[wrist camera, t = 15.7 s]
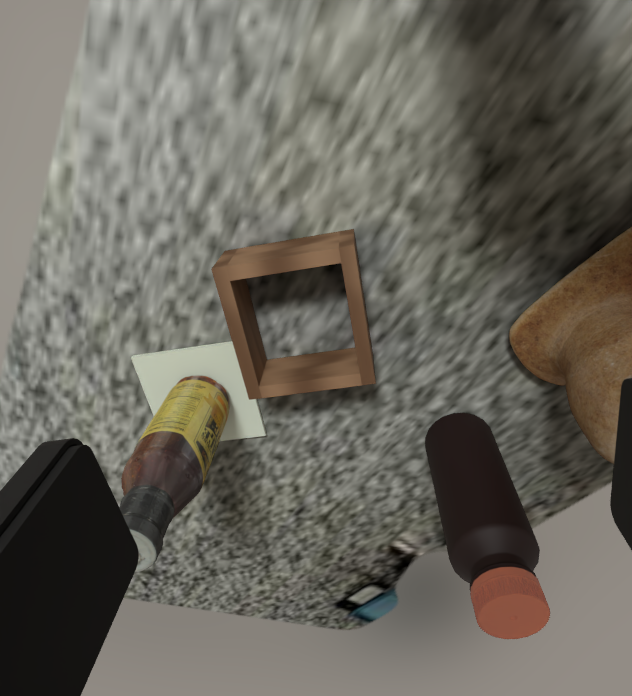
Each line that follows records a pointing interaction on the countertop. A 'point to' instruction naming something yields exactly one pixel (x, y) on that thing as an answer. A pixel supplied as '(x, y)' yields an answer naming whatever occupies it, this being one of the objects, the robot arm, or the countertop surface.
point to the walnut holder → (241, 320)
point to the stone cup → (585, 339)
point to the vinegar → (486, 527)
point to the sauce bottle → (172, 461)
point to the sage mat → (206, 360)
